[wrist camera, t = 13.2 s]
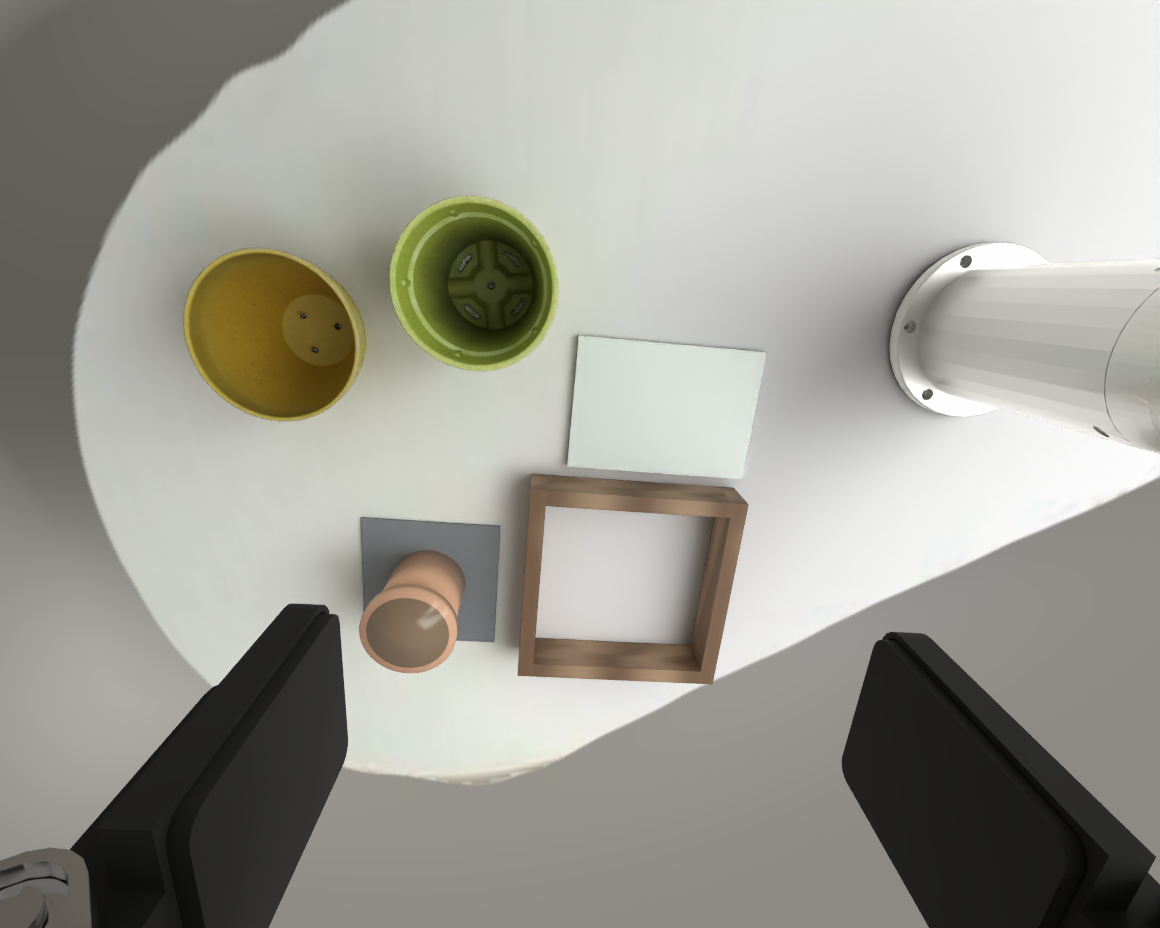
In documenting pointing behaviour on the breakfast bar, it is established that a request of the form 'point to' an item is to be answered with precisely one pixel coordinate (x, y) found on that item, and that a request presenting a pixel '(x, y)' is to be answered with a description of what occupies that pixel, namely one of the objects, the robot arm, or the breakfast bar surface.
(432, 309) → the plant pot
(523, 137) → the breakfast bar surface
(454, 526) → the slate mat
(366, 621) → the terracotta pot
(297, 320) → the flower pot
